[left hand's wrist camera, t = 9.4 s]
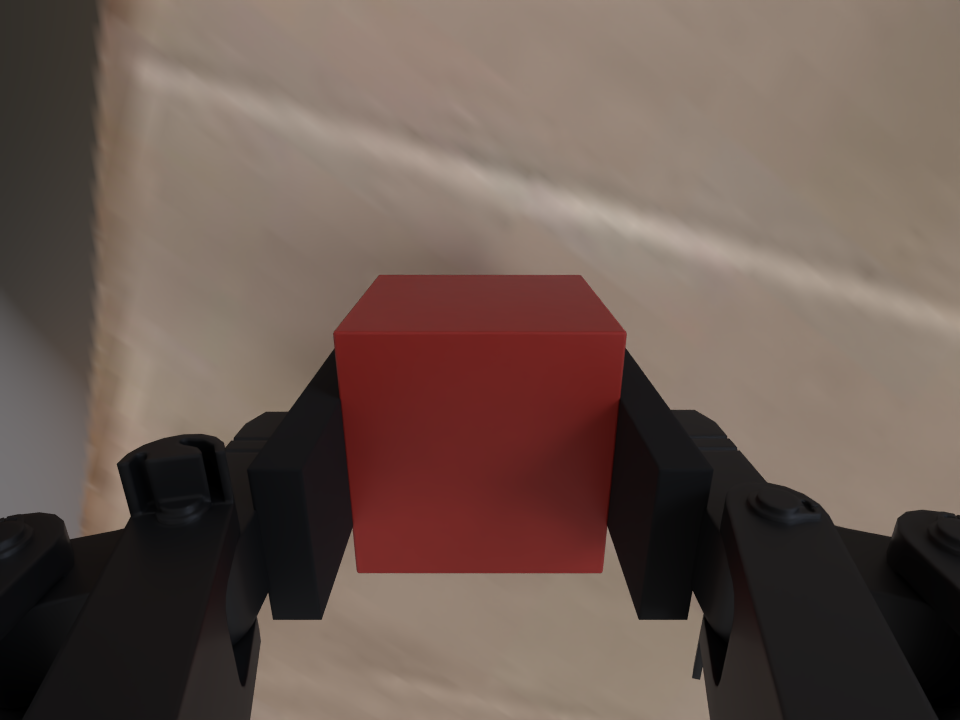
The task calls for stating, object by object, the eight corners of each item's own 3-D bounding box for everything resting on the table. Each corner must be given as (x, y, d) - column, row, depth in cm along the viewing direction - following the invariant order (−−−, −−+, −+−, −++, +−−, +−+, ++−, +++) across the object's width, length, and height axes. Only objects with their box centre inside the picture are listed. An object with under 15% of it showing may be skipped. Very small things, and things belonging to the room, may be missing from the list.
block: (390, 457, 15) (356, 574, 11) (378, 274, 13) (332, 331, 9) (569, 457, 15) (602, 574, 11) (581, 274, 13) (627, 331, 9)
